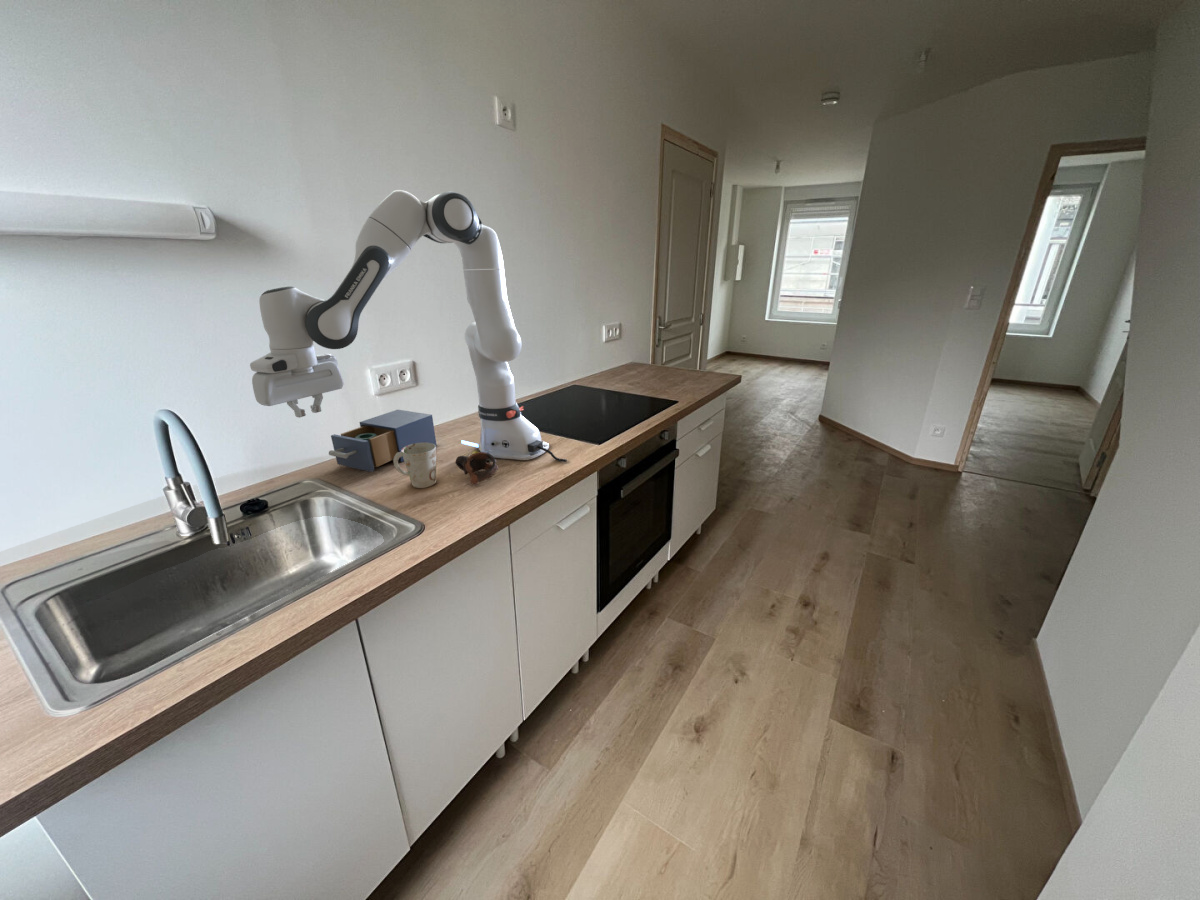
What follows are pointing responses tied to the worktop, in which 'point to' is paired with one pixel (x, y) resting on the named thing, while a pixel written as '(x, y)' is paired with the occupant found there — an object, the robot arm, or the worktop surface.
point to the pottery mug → (477, 466)
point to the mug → (418, 463)
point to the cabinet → (405, 427)
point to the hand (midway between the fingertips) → (308, 414)
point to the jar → (366, 438)
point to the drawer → (364, 448)
